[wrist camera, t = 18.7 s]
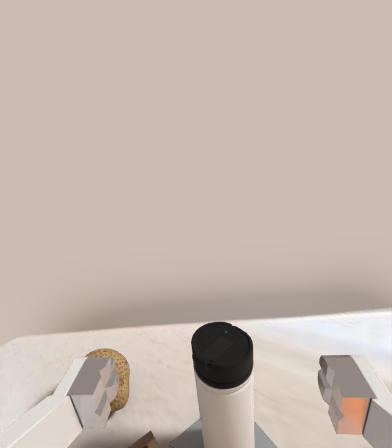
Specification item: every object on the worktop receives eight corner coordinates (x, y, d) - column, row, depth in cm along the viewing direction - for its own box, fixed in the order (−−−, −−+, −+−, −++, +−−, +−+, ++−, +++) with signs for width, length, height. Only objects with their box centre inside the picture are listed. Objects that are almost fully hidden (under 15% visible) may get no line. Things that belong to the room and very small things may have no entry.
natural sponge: (92, 377, 46) (77, 335, 43) (140, 374, 46) (130, 331, 42) (69, 434, 38) (48, 387, 34) (128, 430, 37) (114, 383, 34)
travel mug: (193, 460, 33) (174, 342, 25) (225, 418, 37) (217, 307, 30) (233, 506, 28) (224, 381, 21) (264, 453, 33) (265, 333, 25)
